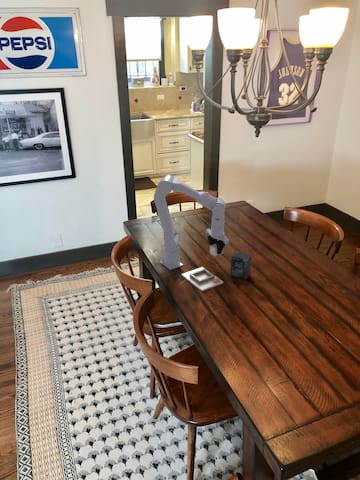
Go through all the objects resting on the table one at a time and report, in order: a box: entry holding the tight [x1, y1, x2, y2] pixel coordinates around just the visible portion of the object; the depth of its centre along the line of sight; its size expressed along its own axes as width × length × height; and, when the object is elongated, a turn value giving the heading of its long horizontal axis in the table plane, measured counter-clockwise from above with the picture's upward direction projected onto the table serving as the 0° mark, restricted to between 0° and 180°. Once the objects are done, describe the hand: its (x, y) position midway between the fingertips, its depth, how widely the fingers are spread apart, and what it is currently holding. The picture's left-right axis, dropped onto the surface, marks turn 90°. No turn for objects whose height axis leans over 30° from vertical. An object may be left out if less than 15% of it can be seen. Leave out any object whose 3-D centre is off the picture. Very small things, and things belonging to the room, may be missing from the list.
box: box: [229, 251, 252, 280], centre depth 170 cm, size 8×6×11 cm
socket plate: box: [181, 266, 224, 292], centre depth 169 cm, size 16×12×2 cm
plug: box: [209, 244, 224, 258], centre depth 174 cm, size 4×5×5 cm
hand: (216, 251), depth 175 cm, fingers closed on plug, 4 cm apart
